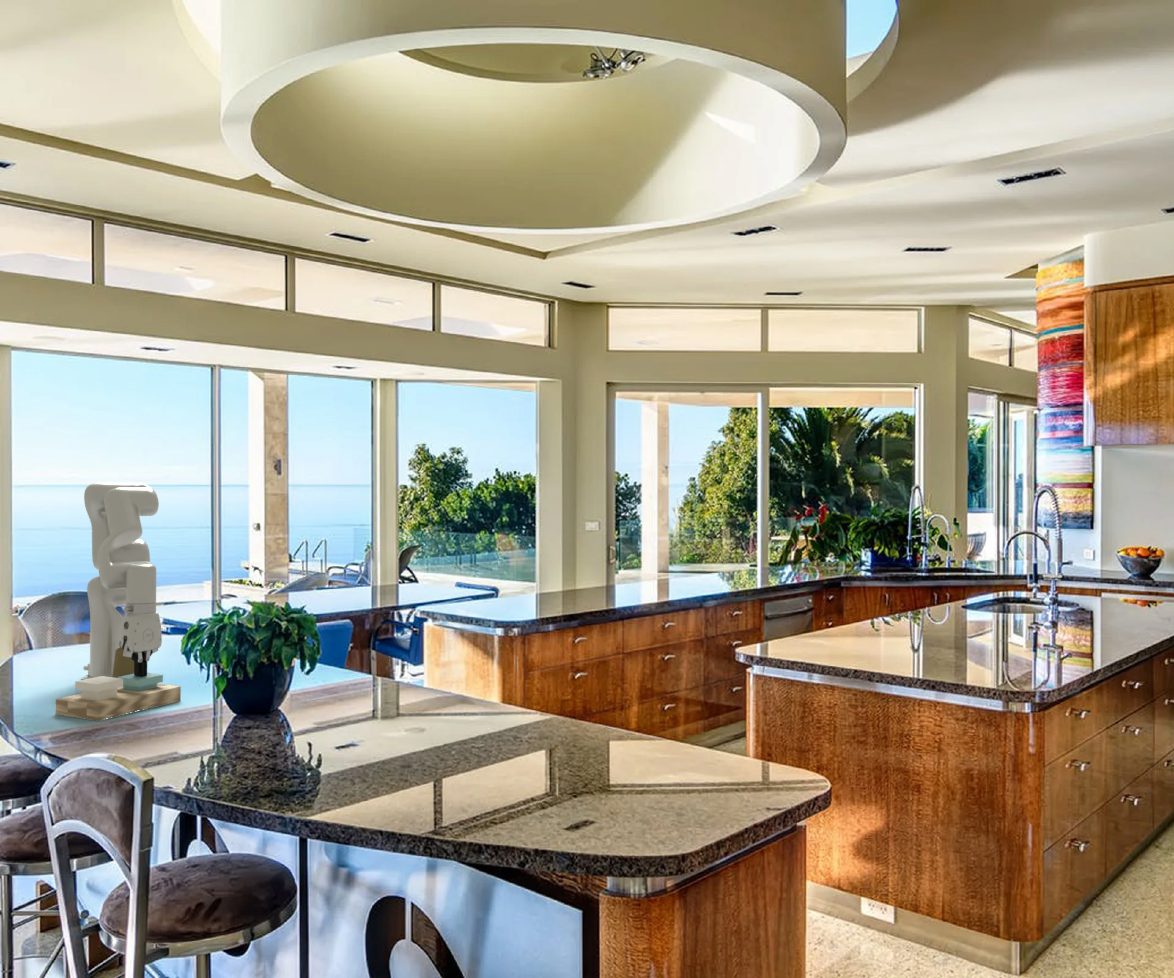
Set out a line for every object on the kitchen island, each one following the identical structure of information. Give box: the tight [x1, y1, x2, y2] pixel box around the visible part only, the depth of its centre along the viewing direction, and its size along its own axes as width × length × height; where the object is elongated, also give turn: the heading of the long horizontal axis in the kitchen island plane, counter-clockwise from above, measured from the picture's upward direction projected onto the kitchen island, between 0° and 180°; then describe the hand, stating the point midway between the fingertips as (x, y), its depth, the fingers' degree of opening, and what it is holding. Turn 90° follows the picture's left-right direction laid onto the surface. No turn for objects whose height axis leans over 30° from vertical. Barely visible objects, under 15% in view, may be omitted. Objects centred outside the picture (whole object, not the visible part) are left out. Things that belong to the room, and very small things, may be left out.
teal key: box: [118, 672, 164, 692], centre depth 269 cm, size 8×8×5 cm
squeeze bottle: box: [112, 641, 134, 678], centre depth 285 cm, size 8×8×18 cm
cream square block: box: [74, 676, 123, 701], centre depth 257 cm, size 8×8×5 cm
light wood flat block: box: [55, 683, 182, 722], centre depth 263 cm, size 26×16×4 cm, turn 155°
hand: (140, 675), depth 269 cm, fingers closed
